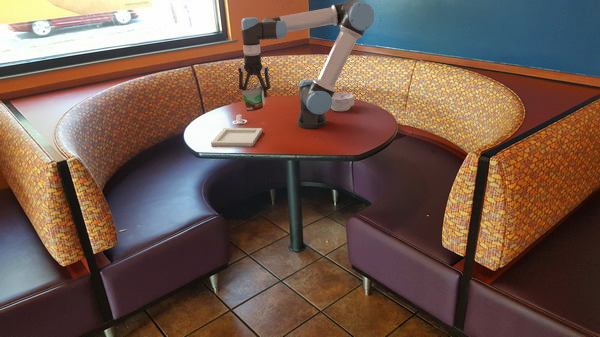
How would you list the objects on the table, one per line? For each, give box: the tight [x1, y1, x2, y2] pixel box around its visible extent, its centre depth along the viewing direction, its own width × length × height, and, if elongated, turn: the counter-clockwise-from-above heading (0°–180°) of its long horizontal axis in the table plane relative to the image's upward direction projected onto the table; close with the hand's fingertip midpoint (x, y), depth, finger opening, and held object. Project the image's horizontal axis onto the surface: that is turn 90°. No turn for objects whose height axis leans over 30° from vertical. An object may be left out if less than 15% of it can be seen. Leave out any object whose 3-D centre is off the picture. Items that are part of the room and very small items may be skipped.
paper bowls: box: [330, 92, 355, 112], centre depth 254 cm, size 15×15×8 cm
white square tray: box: [210, 127, 263, 148], centre depth 219 cm, size 20×20×2 cm
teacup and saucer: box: [231, 114, 248, 125], centre depth 243 cm, size 9×8×4 cm
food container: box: [241, 83, 264, 112], centre depth 209 cm, size 12×6×10 cm, turn 152°
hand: (255, 103), depth 211 cm, fingers closed on food container, 7 cm apart
